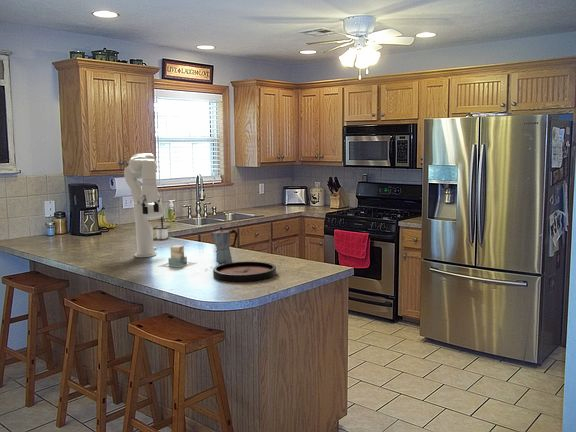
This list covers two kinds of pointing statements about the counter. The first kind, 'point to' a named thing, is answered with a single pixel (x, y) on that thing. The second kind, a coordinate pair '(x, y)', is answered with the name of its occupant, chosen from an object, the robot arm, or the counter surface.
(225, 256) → the moka pot
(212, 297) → the counter surface
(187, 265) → the build board
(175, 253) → the maple block
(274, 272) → the round serving tray
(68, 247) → the counter surface
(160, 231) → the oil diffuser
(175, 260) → the teal base block
